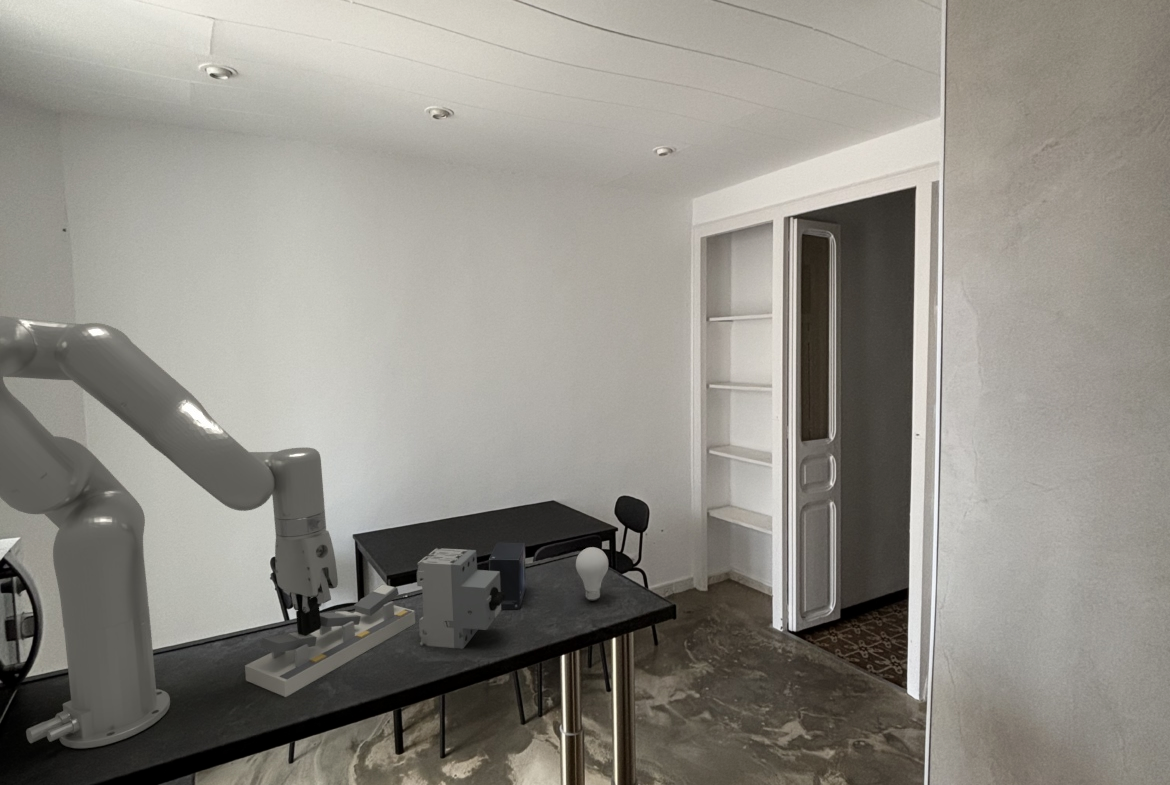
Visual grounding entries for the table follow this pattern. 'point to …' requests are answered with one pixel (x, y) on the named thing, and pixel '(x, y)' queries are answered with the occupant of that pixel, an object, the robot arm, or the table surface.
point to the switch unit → (327, 650)
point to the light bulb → (592, 570)
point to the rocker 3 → (376, 600)
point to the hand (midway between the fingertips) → (309, 631)
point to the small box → (510, 572)
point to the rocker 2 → (338, 619)
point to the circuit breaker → (456, 597)
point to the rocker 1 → (287, 642)
